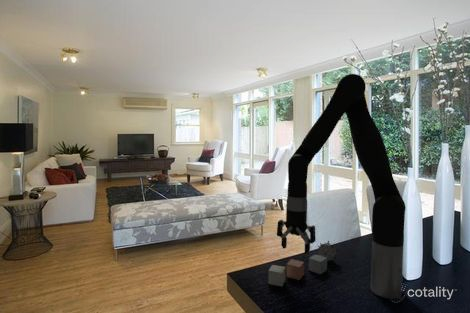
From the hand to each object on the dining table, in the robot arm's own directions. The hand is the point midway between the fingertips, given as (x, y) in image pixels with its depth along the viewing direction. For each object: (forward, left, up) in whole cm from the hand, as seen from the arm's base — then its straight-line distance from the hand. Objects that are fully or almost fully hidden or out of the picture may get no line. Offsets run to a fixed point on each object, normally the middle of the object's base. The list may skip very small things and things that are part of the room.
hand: (295, 250), depth 110 cm
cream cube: (+4, +8, -10) cm, 13 cm away
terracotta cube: (0, 0, -10) cm, 10 cm away
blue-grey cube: (-6, -9, -10) cm, 15 cm away
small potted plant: (-7, -19, -10) cm, 22 cm away
